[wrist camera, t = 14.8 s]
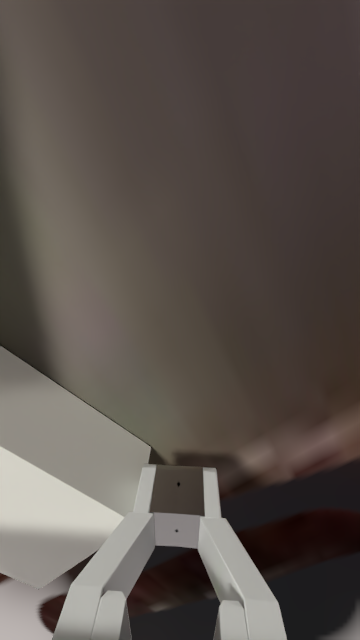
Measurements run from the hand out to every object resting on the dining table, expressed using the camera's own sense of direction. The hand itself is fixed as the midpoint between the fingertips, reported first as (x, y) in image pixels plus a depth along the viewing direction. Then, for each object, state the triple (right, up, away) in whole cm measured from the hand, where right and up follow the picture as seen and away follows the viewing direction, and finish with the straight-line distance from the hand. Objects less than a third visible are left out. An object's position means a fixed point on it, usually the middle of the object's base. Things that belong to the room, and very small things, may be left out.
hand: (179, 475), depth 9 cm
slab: (-7, +1, +2) cm, 8 cm away
